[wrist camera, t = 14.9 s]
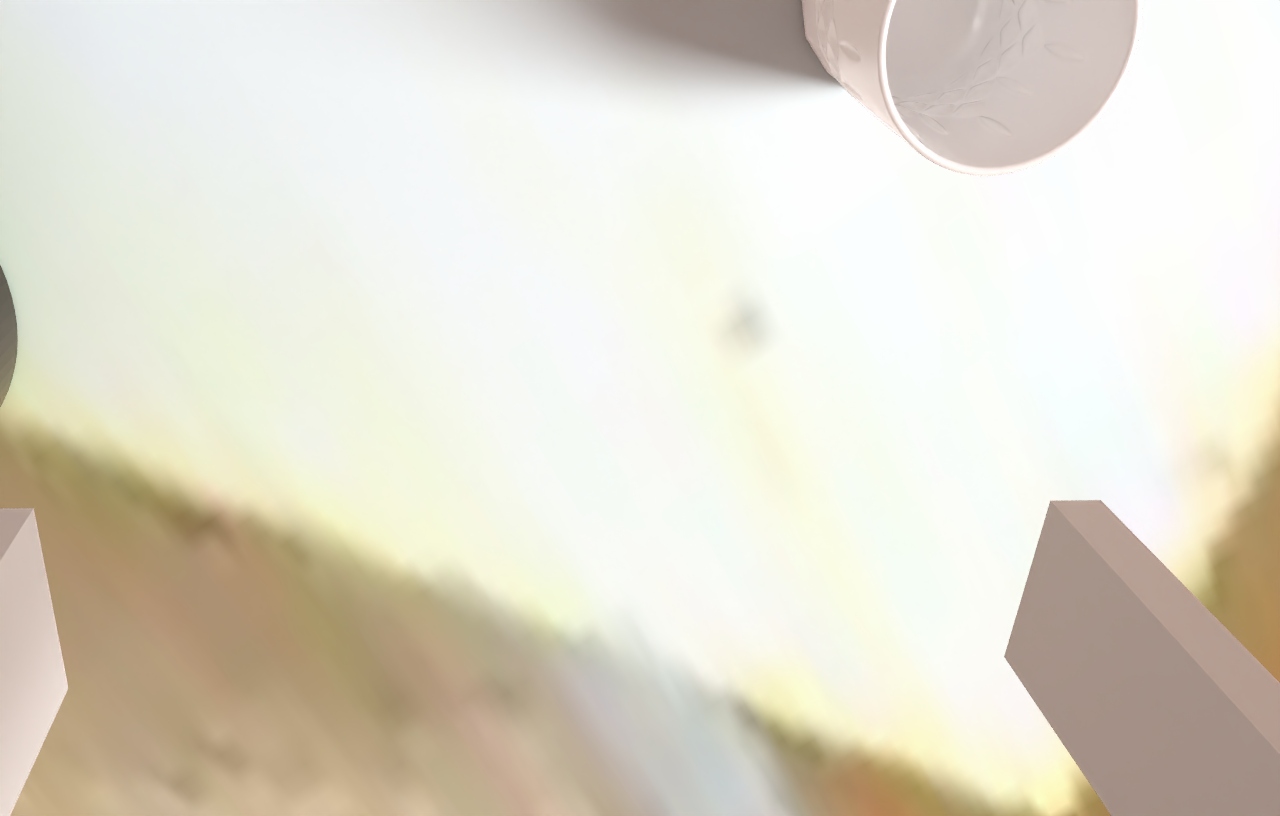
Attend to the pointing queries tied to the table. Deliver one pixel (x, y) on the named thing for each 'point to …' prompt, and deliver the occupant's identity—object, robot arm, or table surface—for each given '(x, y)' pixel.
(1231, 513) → the table surface
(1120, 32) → the white cup
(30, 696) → the robot arm
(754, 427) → the table surface
